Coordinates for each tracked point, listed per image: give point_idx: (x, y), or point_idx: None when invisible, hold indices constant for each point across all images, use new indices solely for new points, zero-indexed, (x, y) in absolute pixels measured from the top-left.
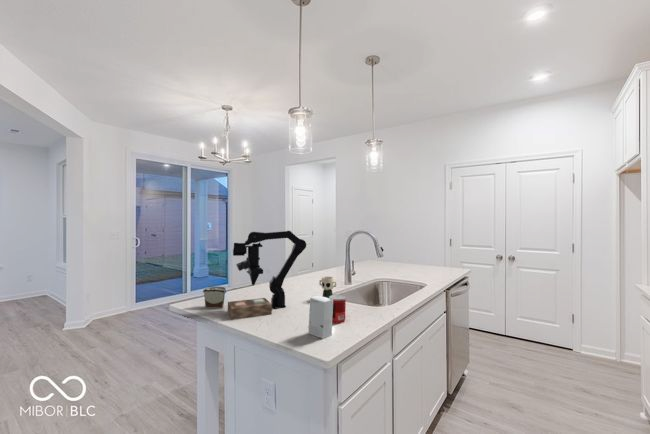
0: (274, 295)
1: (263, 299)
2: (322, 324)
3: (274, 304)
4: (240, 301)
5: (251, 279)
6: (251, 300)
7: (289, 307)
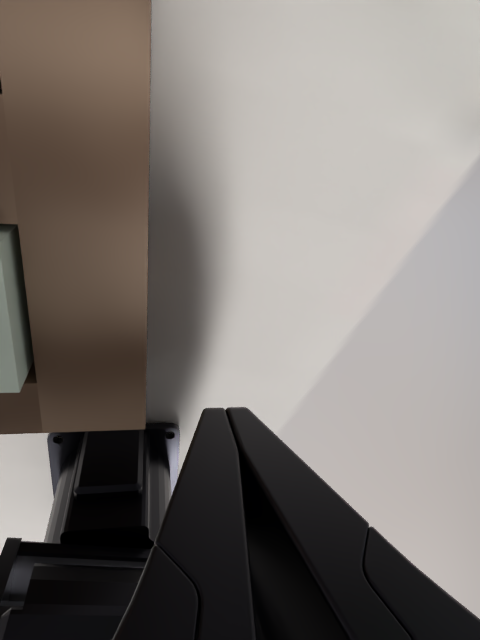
0: (2, 552)
1: (64, 398)
2: None
3: (77, 456)
4: (75, 19)
5: (169, 540)
6: (71, 233)
7: (45, 533)
